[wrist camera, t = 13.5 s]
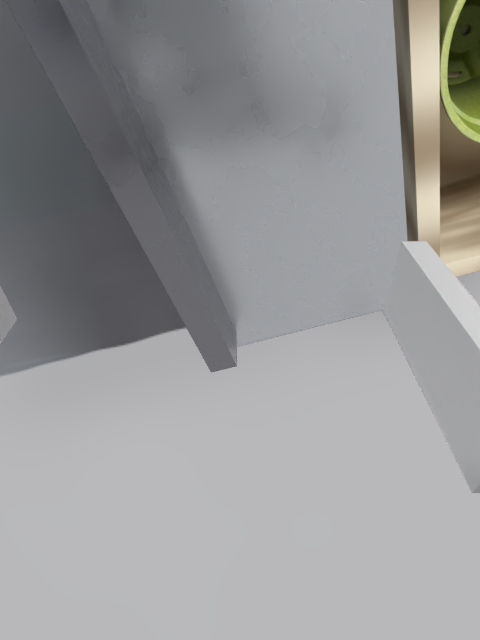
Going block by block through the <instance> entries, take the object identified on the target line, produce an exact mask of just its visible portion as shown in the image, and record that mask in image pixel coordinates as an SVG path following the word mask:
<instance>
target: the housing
mask: <svg viewBox="0 0 480 640" xmlns="http://www.w3.org/2000/svg"><path fill="white" fill-rule="evenodd" d="M393 15H394V31H395V47H396V63H397V79H398V95H399V111H400V127H401V144H402V160H403V176H404V192H405V208H406V224H407V240H408V241H427V242H428V244H429V245H430V246H431V247H432V248H433V250H434V251H435V252H436V253H437V255H438V256H439V257H440V258H441V259H442V261H443V262H444V263H445V264H446V265H447V267H448V268H449V269H450V270H451V271H452V273H453V274H454V275H455V276H456V277H458V276H462V275H466V274H470V273H473V272H477V271H480V143H477V142H475V141H473V140H471V139H469V138H468V137H466V136H465V135H463V134H462V133H461V132H460V131H459V130H458V129H457V128H456V127H455V126H454V125H453V124H452V122H451V121H450V120H449V118H448V116H447V114H446V112H445V110H444V108H443V104H442V101H441V97H440V44H439V0H393ZM469 32H470V26H469V25H468V26H467V25H466V26H464V27H463V29H462V34H463V35H466V34H468V33H469ZM461 73H462V72H461V71H459V72H448V71H447V78H454V77H458V76H459V75H460V74H461Z"/></svg>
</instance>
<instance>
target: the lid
mask: <svg viewBox="0 0 480 640" xmlns="http://www.w3.org/2000/svg"><path fill="white" fill-rule="evenodd" d="M5 1H6V3H7V4H8V6H9V8H10V10H11V12H12V13H13V15H14V17H15V19H16V21H17V23H18V24H19V26H20V28H21V30H22V32H23V33H24V35H25V37H26V39H27V41H28V42H29V44H30V46H31V48H32V50H33V51H34V53H35V55H36V57H37V59H38V60H39V62H40V64H41V66H42V68H43V69H44V71H45V73H46V75H47V77H48V78H49V80H50V82H51V84H52V86H53V87H54V89H55V91H56V93H57V95H58V97H59V98H60V100H61V102H62V104H63V106H64V107H65V109H66V111H67V113H68V115H69V116H70V118H71V120H72V122H73V124H74V125H75V127H76V129H77V131H78V133H79V134H80V136H81V138H82V140H83V142H84V143H85V145H86V147H87V149H88V151H89V152H90V154H91V156H92V158H93V160H94V162H95V163H96V165H97V167H98V169H99V171H100V172H101V174H102V176H103V178H104V180H105V181H106V183H107V185H108V187H109V189H110V190H111V192H112V194H113V196H114V198H115V199H116V201H117V203H118V205H119V207H120V208H121V210H122V212H123V214H124V216H125V217H126V219H127V221H128V223H129V225H130V226H131V228H132V230H133V232H134V234H135V236H136V237H137V239H138V241H139V243H140V245H141V246H142V248H143V250H144V252H145V254H146V255H147V257H148V259H149V261H150V263H151V264H152V266H153V268H154V270H155V272H156V273H157V275H158V277H159V279H160V281H161V282H162V284H163V286H164V288H165V290H166V291H167V293H168V295H169V297H170V299H171V301H172V302H173V304H174V306H175V308H176V310H177V311H178V313H179V315H180V317H181V319H182V320H183V322H184V324H185V326H186V328H187V329H188V331H189V333H190V335H191V337H192V338H193V340H194V342H195V344H196V346H197V347H198V349H199V351H200V353H201V355H202V356H203V358H204V360H205V362H206V364H207V365H208V367H209V369H210V371H211V372H215V371H219V370H223V369H227V368H231V367H235V366H237V347H238V346H242V345H246V344H250V343H254V342H258V341H262V340H266V339H270V338H274V337H278V336H281V335H286V334H290V333H294V332H297V331H301V330H305V329H309V328H313V327H317V326H321V325H325V324H329V323H333V322H337V321H341V320H345V319H349V318H353V317H357V316H361V315H365V314H369V313H373V312H376V311H380V310H383V308H384V304H385V301H386V297H387V293H388V290H389V286H390V283H391V279H392V275H393V272H394V268H395V265H396V261H397V257H398V254H399V250H400V247H401V243H402V242H406V241H408V240H407V224H406V208H405V192H404V176H403V160H402V144H401V127H400V111H399V95H398V79H397V63H396V47H395V31H394V15H393V0H5Z"/></svg>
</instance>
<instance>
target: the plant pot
mask: <svg viewBox="0 0 480 640" xmlns="http://www.w3.org/2000/svg"><path fill="white" fill-rule="evenodd" d="M466 25H467V26H468V25H469V26H470V32H469V33H468V34H466V35H463V34H462V29H463V27H464V26H466ZM439 44H440V97H441V101H442V104H443V108H444V110H445V112H446V114H447V116H448V118H449V120H450V121H451V122H452V124H453V125H454V126H455V127H456V128H457V129H458V130H459V131H460V132H461V133H462V134H463V135H465V136H466V137H468V138H469V139H471V140H473V141H475V142H477V143H480V0H439ZM447 71H448V72H459V71H461V72H462V73H461V74H460V75H459V76H458V77H454V78H447Z"/></svg>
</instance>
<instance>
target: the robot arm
mask: <svg viewBox="0 0 480 640" xmlns="http://www.w3.org/2000/svg"><path fill="white" fill-rule="evenodd" d="M383 313H384V315H385V317H386V319H387V321H388V323H389V325H390V327H391V329H392V331H393V333H394V335H395V337H396V339H397V341H398V343H399V345H400V347H401V349H402V351H403V353H404V355H405V357H406V360H407V362H408V364H409V366H410V368H411V370H412V372H413V374H414V376H415V378H416V380H417V382H418V384H419V386H420V388H421V390H422V392H423V394H424V396H425V398H426V400H427V402H428V404H429V406H430V408H431V410H432V412H433V414H434V416H435V418H436V420H437V422H438V424H439V427H440V428H441V431H442V433H443V434H444V437H445V439H446V441H447V443H448V445H449V447H450V449H451V451H452V453H453V454H454V457H455V459H456V461H457V463H458V465H459V467H460V469H461V471H462V473H463V475H464V477H465V479H466V481H467V484H468V486H469V488H470V490H471V491H472V493H480V305H479V304H478V303H477V302H476V301H475V300H474V298H473V297H472V296H471V294H470V293H469V292H468V291H467V290H466V288H465V287H464V286H463V285H462V284H461V282H460V281H459V280H458V279H457V278H456V276H455V275H454V274H453V273H452V271H451V270H450V269H449V268H448V267H447V265H446V264H445V263H444V262H443V261H442V259H441V258H440V257H439V256H438V255H437V253H436V252H435V251H434V250H433V248H432V247H431V246H430V245H429V244H428V242H427V241H406V242H402V243H401V247H400V250H399V254H398V257H397V261H396V265H395V268H394V272H393V275H392V279H391V283H390V286H389V290H388V293H387V297H386V301H385V304H384V308H383ZM16 320H17V318H16V316H15V314H14V312H13V310H12V308H11V306H10V304H9V302H8V300H7V298H6V296H5V294H4V292H3V290H2V288H1V286H0V343H1V342H2V341H3V339H4V338H5V336H6V335H7V333H8V332H9V330H10V329H11V328H12V326H13V325H14V323H15V322H16Z"/></svg>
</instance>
